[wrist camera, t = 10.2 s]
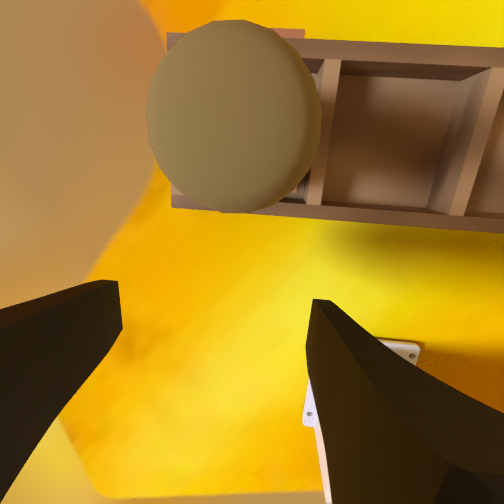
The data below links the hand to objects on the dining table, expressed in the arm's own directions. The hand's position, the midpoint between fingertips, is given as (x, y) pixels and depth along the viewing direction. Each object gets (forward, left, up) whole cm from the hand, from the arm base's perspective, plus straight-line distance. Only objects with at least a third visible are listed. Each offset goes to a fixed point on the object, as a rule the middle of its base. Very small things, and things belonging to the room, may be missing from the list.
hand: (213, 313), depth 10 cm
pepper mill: (+6, 0, -10) cm, 12 cm away
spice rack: (+7, -8, -10) cm, 15 cm away
